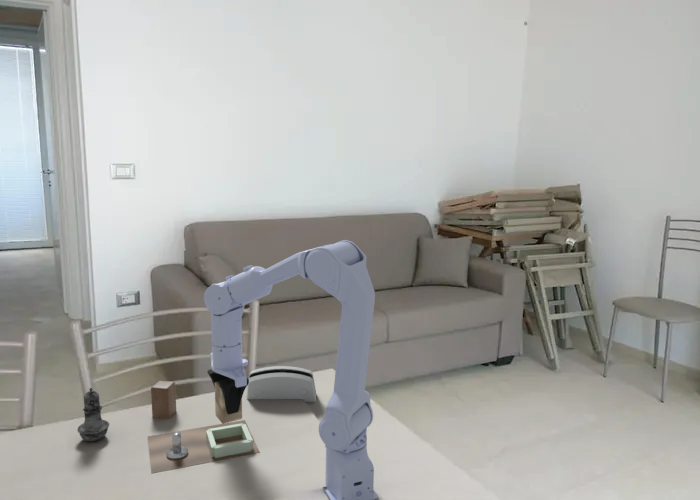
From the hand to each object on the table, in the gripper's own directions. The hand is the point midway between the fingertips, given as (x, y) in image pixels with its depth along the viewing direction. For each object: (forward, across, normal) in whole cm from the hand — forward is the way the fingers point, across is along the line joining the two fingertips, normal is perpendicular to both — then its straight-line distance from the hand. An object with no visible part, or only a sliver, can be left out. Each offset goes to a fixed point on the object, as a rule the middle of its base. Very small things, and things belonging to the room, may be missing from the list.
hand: (228, 407), depth 110 cm
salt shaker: (+9, +16, +22) cm, 29 cm away
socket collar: (+8, 0, 0) cm, 8 cm away
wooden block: (+9, +20, +8) cm, 23 cm away
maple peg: (+2, 0, 0) cm, 2 cm away
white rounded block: (+9, +15, -19) cm, 25 cm away
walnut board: (+9, +3, +5) cm, 10 cm away
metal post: (+8, +2, +10) cm, 13 cm away
